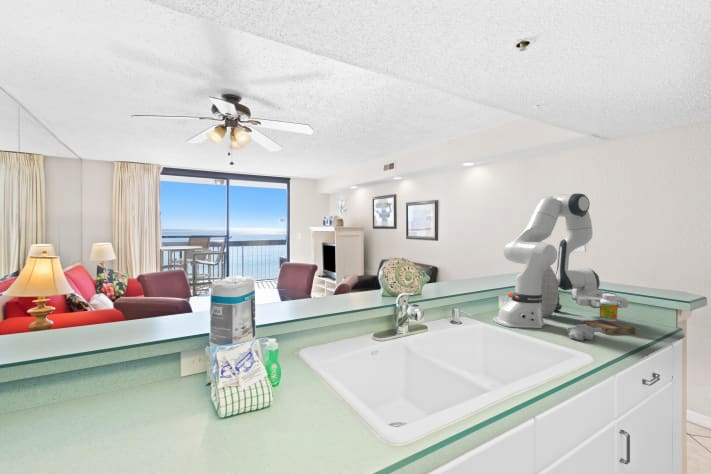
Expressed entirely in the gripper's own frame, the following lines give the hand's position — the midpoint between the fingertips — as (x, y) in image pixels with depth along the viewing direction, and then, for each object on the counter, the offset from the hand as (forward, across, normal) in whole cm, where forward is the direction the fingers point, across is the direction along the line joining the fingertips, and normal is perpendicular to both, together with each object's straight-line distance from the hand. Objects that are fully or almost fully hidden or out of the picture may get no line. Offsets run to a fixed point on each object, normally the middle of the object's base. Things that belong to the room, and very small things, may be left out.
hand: (610, 305), depth 145 cm
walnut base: (-1, 0, +11) cm, 11 cm away
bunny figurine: (+14, -16, +11) cm, 24 cm away
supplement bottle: (-1, 0, +7) cm, 7 cm away
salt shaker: (-30, -11, +11) cm, 34 cm away
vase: (-20, -20, +11) cm, 31 cm away
